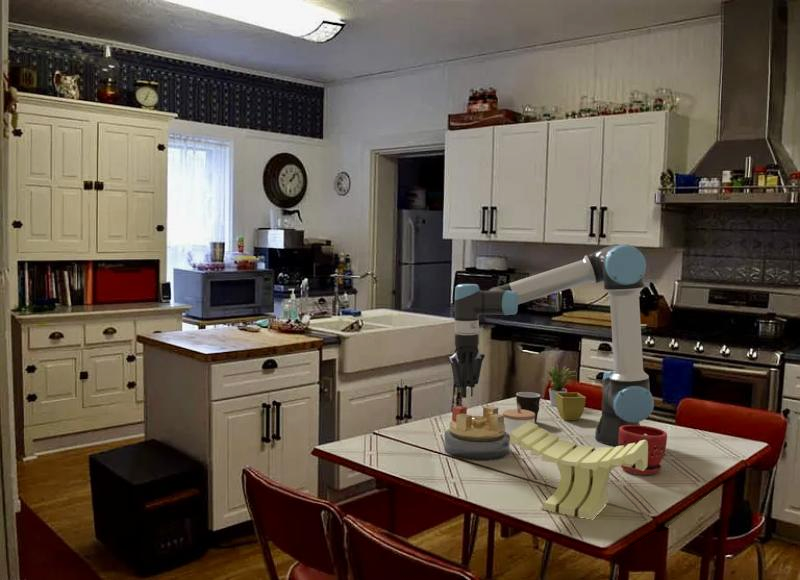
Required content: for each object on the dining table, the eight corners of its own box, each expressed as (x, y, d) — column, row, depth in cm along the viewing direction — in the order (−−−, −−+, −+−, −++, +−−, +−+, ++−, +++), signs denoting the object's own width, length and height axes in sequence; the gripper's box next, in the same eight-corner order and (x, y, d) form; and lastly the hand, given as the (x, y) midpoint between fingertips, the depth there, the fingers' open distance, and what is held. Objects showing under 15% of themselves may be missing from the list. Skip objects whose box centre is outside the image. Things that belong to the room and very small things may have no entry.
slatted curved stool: (645, 507, 182) (648, 436, 180) (630, 528, 168) (633, 452, 167) (530, 484, 197) (532, 419, 195) (507, 502, 183) (510, 432, 182)
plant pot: (660, 480, 202) (662, 438, 201) (612, 472, 208) (614, 431, 207) (668, 468, 213) (670, 427, 212) (622, 460, 219) (624, 421, 218)
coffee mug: (514, 418, 267) (515, 391, 266) (538, 419, 266) (539, 392, 265) (515, 426, 255) (516, 398, 255) (540, 428, 254) (541, 399, 254)
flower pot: (554, 416, 272) (555, 392, 271) (576, 415, 273) (577, 392, 272) (561, 422, 263) (562, 397, 263) (585, 422, 264) (586, 397, 264)
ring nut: (471, 423, 238) (471, 402, 237) (515, 433, 226) (516, 411, 226) (438, 433, 225) (439, 411, 224) (483, 444, 214) (484, 421, 213)
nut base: (522, 451, 227) (522, 434, 226) (483, 465, 212) (483, 447, 212) (471, 437, 240) (471, 422, 240) (431, 449, 226) (431, 433, 225)
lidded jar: (536, 440, 239) (538, 412, 238) (504, 439, 239) (505, 411, 238) (531, 431, 249) (532, 404, 249) (500, 430, 250) (501, 403, 249)
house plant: (569, 411, 279) (571, 369, 278) (534, 406, 286) (536, 365, 285) (580, 404, 291) (582, 364, 290) (546, 400, 298) (548, 360, 297)
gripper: (457, 336, 223) (456, 412, 225) (490, 333, 230) (490, 407, 231) (442, 333, 229) (442, 407, 231) (475, 330, 236) (475, 402, 238)
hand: (466, 407), depth 231 cm, fingers closed
